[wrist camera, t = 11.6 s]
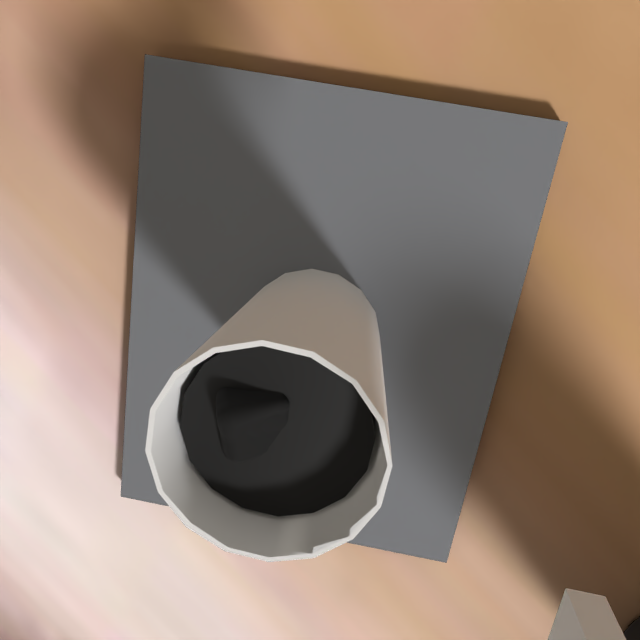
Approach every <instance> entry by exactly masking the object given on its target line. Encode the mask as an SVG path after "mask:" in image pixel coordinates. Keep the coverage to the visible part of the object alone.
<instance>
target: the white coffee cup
mask: <svg viewBox="0 0 640 640" xmlns="http://www.w3.org/2000/svg"><path fill="white" fill-rule="evenodd" d="M145 452H146V455H147V459H148V462H149V465H150V468H151V471H152V475H153V478H154V481H155V484H156V487H157V491H158V493H159V494H160V495H161V497H162V498H163V499H164V500H165V502H166V503H167V504H168V505H169V507H170V508H171V509H172V510H173V512H174V513H175V514H176V515H177V516H178V518H179V519H180V520H181V521H182V523H183V524H184V525H185V526H186V527H187V528H188V529H190V530H192V531H193V532H195V533H196V534H198V535H200V536H201V537H203V538H204V539H206V540H208V541H209V542H211V543H212V544H214V545H216V546H217V547H219V548H220V549H222V550H224V551H226V552H230V553H234V554H238V555H242V556H246V557H250V558H255V559H259V560H263V561H267V562H275V561H287V560H298V559H309V558H315V557H317V556H319V555H321V554H323V553H325V552H328V551H330V550H332V549H334V548H336V547H338V546H340V545H342V544H344V543H346V542H348V541H350V540H353V539H354V538H355V537H356V535H357V534H358V533H359V532H360V531H361V530H362V528H363V527H364V526H365V525H366V524H367V523H368V522H369V520H370V519H371V518H372V517H373V516H374V515H375V514H376V512H377V511H378V510H379V509H380V508H381V505H382V502H383V498H384V495H385V491H386V487H387V484H388V480H389V476H390V473H391V469H392V456H391V446H390V436H389V426H388V415H387V405H386V395H385V385H384V375H383V364H382V354H381V344H380V334H379V329H378V323H377V317H376V312H375V311H374V309H373V308H372V306H371V304H370V303H369V301H368V300H367V298H366V297H365V295H364V294H363V292H362V291H361V290H360V289H359V288H357V287H356V286H355V285H353V284H352V283H350V282H349V281H347V280H346V279H344V278H343V277H341V276H340V275H338V274H334V273H329V272H325V271H320V270H316V269H306V270H300V271H294V272H289V273H285V274H283V275H281V276H280V277H278V278H277V279H275V280H274V281H272V282H271V283H269V284H267V285H266V286H264V287H263V288H262V289H261V290H260V291H259V292H258V293H257V294H256V295H255V296H254V297H253V298H252V299H250V300H249V301H248V302H247V303H246V304H245V305H244V306H243V307H242V308H241V309H240V310H239V311H238V312H237V313H236V314H235V315H234V316H232V317H231V318H230V319H229V320H228V321H227V322H226V323H225V324H224V325H223V326H222V327H221V328H220V329H219V330H218V331H217V332H216V333H215V334H213V335H212V336H211V337H210V338H209V339H208V340H207V341H206V342H205V343H204V344H203V345H202V346H201V347H200V348H199V349H198V350H197V351H195V352H194V353H193V354H192V355H191V356H190V357H189V358H188V359H187V360H186V361H185V362H184V363H183V364H182V365H181V366H180V367H179V368H177V369H176V370H175V371H174V372H173V374H172V375H171V377H170V378H169V380H168V382H167V383H166V385H165V386H164V388H163V389H162V391H161V393H160V394H159V396H158V397H157V399H156V400H155V402H154V404H153V405H152V407H151V408H150V414H149V422H148V431H147V439H146V448H145Z"/></svg>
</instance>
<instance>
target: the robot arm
mask: <svg viewBox="0 0 640 640" xmlns="http://www.w3.org/2000/svg"><path fill="white" fill-rule="evenodd" d="M548 640H626V638H625V636H624V634H623V632H622V630H621V628H620V626H619V624H618V621H617V619H616V617H615V615H614V613H613V611H612V609H611V607H610V605H609V603H608V601H607V599H606V597H605V596H602V595H597V594H592V593H588V592H583V591H578V590H573V589H568V588H566V589H565V592H564V594H563V597H562V600H561V603H560V606H559V609H558V612H557V614H556V617H555V620H554V623H553V626H552V629H551V632H550V634H549V637H548Z"/></svg>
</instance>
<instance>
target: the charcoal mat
mask: <svg viewBox="0 0 640 640" xmlns="http://www.w3.org/2000/svg"><path fill="white" fill-rule="evenodd" d="M567 124H568V122H564V121H557V120H551V119H545V118H539V117H532V116H526V115H520V114H514V113H507V112H501V111H495V110H489V109H483V108H476V107H470V106H464V105H458V104H451V103H445V102H439V101H433V100H426V99H420V98H414V97H408V96H402V95H395V94H389V93H383V92H377V91H370V90H364V89H358V88H352V87H345V86H339V85H333V84H327V83H320V82H314V81H308V80H302V79H296V78H289V77H283V76H277V75H271V74H264V73H258V72H252V71H246V70H239V69H233V68H227V67H221V66H215V65H208V64H202V63H196V62H190V61H183V60H177V59H171V58H165V57H158V56H152V55H146V54H145V62H144V80H143V98H142V116H141V135H140V153H139V171H138V190H137V208H136V226H135V244H134V263H133V281H132V299H131V317H130V336H129V354H128V372H127V391H126V409H125V427H124V445H123V464H122V482H121V497H126V498H131V499H136V500H141V501H146V502H150V503H155V504H160V505H165V506H169V505H168V504H167V503H166V502H165V500H164V499H163V498H162V497H161V495H160V494H159V493H158V491H157V487H156V484H155V481H154V478H153V475H152V471H151V468H150V465H149V462H148V459H147V455H146V452H145V448H146V439H147V431H148V422H149V414H150V408H151V407H152V405H153V404H154V402H155V400H156V399H157V397H158V396H159V394H160V393H161V391H162V389H163V388H164V386H165V385H166V383H167V382H168V380H169V378H170V377H171V375H172V374H173V372H174V371H175V370H176V369H177V368H179V367H180V366H181V365H182V364H183V363H184V362H185V361H186V360H187V359H188V358H189V357H190V356H191V355H192V354H193V353H194V352H195V351H197V350H198V349H199V348H200V347H201V346H202V345H203V344H204V343H205V342H206V341H207V340H208V339H209V338H210V337H211V336H212V335H213V334H215V333H216V332H217V331H218V330H219V329H220V328H221V327H222V326H223V325H224V324H225V323H226V322H227V321H228V320H229V319H230V318H231V317H232V316H234V315H235V314H236V313H237V312H238V311H239V310H240V309H241V308H242V307H243V306H244V305H245V304H246V303H247V302H248V301H249V300H250V299H252V298H253V297H254V296H255V295H256V294H257V293H258V292H259V291H260V290H261V289H262V288H263V287H264V286H266V285H267V284H269V283H271V282H272V281H274V280H275V279H277V278H278V277H280V276H281V275H283V274H285V273H289V272H294V271H300V270H306V269H316V270H320V271H325V272H329V273H334V274H338V275H340V276H341V277H343V278H344V279H346V280H347V281H349V282H350V283H352V284H353V285H355V286H356V287H357V288H359V289H360V290H361V291H362V292H363V294H364V295H365V297H366V298H367V300H368V301H369V303H370V304H371V306H372V308H373V309H374V311H375V312H376V317H377V323H378V329H379V334H380V344H381V354H382V364H383V375H384V385H385V395H386V405H387V415H388V426H389V436H390V446H391V456H392V469H391V473H390V476H389V480H388V484H387V487H386V491H385V495H384V498H383V502H382V505H381V508H380V509H379V510H378V511H377V512H376V514H375V515H374V516H373V517H372V518H371V519H370V520H369V522H368V523H367V524H366V525H365V526H364V527H363V528H362V530H361V531H360V532H359V533H358V534H357V535H356V537H355V538H354V539H353V540H350V541H348V542H347V543H352V544H357V545H362V546H367V547H372V548H376V549H381V550H386V551H391V552H396V553H401V554H406V555H411V556H416V557H421V558H426V559H430V560H435V561H440V562H445V563H447V559H448V555H449V552H450V548H451V544H452V541H453V537H454V534H455V530H456V526H457V523H458V519H459V515H460V512H461V508H462V505H463V501H464V497H465V494H466V490H467V486H468V483H469V479H470V476H471V472H472V468H473V465H474V461H475V457H476V454H477V450H478V446H479V443H480V439H481V436H482V432H483V428H484V425H485V421H486V417H487V414H488V410H489V407H490V403H491V399H492V396H493V392H494V388H495V385H496V381H497V378H498V374H499V370H500V367H501V363H502V359H503V356H504V352H505V349H506V345H507V341H508V338H509V334H510V330H511V327H512V323H513V319H514V316H515V312H516V309H517V305H518V301H519V298H520V294H521V290H522V287H523V283H524V280H525V276H526V272H527V269H528V265H529V261H530V258H531V254H532V251H533V247H534V243H535V240H536V236H537V232H538V229H539V225H540V222H541V218H542V214H543V211H544V207H545V203H546V200H547V196H548V192H549V189H550V185H551V182H552V178H553V174H554V171H555V167H556V163H557V160H558V156H559V153H560V149H561V145H562V142H563V138H564V134H565V131H566V127H567Z"/></svg>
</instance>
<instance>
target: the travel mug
mask: <svg viewBox="0 0 640 640" xmlns="http://www.w3.org/2000/svg"><path fill="white" fill-rule="evenodd" d="M624 636H625V638H626V640H640V617H639V618H638V619H636V620H635V621H634V622H633V623H632V624H631V625H630V626H629V627H628V628H627V629H626V631H625V632H624Z"/></svg>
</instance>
